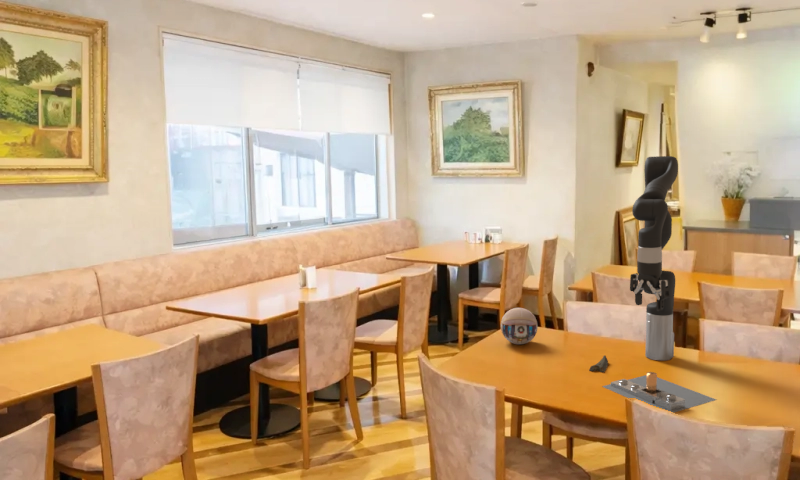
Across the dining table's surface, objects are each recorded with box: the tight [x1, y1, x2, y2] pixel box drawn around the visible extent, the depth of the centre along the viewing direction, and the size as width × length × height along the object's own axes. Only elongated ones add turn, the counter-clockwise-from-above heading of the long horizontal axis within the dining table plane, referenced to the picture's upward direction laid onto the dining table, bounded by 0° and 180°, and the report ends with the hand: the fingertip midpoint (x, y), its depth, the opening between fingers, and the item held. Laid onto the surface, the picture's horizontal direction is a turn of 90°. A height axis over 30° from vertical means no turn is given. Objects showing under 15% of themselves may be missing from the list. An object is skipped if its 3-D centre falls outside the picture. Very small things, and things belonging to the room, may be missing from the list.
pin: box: [646, 371, 658, 394], centre depth 193 cm, size 3×3×8 cm
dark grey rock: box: [588, 355, 609, 373], centre depth 222 cm, size 13×5×4 cm, turn 140°
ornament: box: [500, 307, 538, 345], centre depth 253 cm, size 15×15×15 cm
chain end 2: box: [636, 387, 685, 411], centre depth 190 cm, size 6×13×3 cm, turn 26°
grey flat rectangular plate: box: [601, 374, 717, 414], centre depth 197 cm, size 22×26×1 cm
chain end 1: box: [610, 378, 655, 403], centre depth 198 cm, size 6×17×2 cm, turn 26°
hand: (649, 307), depth 204 cm, fingers open, 8 cm apart
